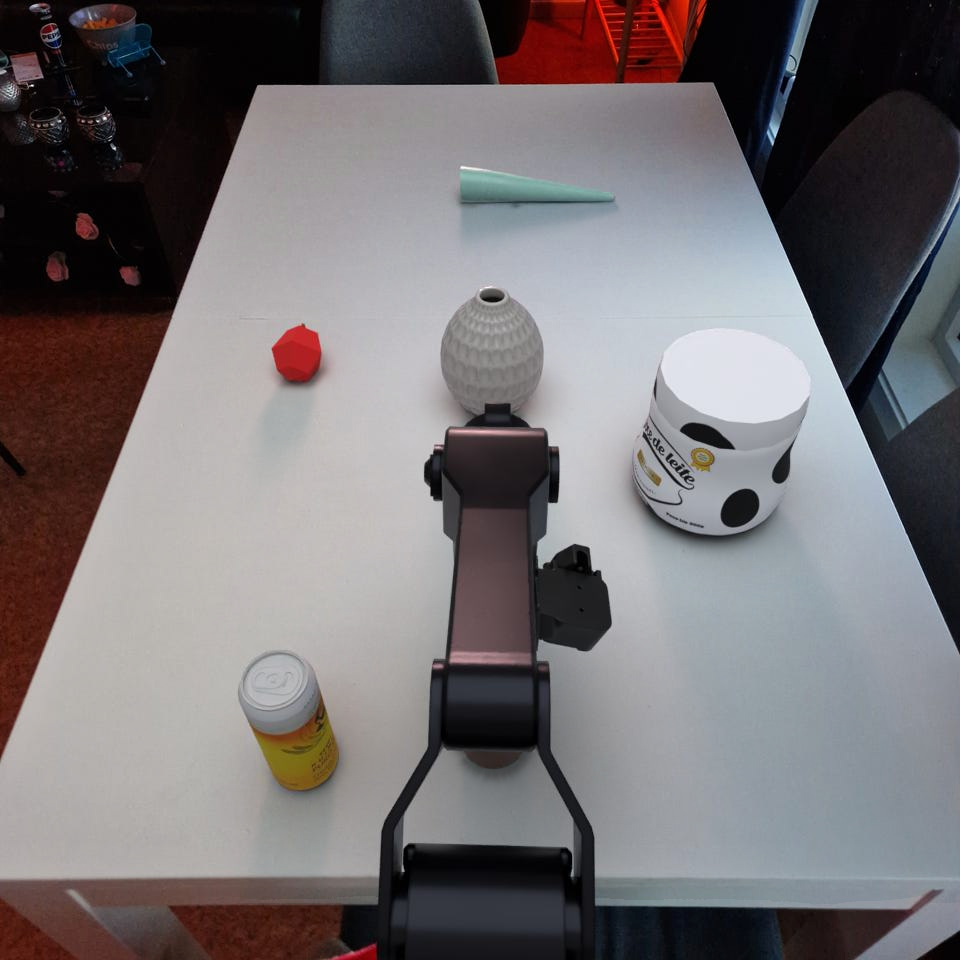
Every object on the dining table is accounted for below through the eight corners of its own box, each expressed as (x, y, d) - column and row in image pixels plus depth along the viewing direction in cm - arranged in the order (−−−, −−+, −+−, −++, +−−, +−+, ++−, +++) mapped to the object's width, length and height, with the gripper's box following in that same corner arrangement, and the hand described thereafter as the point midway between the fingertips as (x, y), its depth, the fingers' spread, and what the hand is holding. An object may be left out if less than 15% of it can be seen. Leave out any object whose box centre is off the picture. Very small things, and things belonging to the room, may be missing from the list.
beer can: (334, 794, 73) (307, 715, 62) (266, 793, 73) (226, 714, 62) (343, 729, 77) (319, 644, 66) (278, 729, 77) (243, 644, 66)
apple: (305, 365, 105) (318, 311, 108) (258, 365, 107) (272, 313, 110) (327, 391, 111) (339, 340, 114) (283, 391, 113) (295, 341, 116)
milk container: (601, 506, 95) (619, 388, 82) (666, 420, 105) (692, 303, 92) (742, 573, 89) (787, 457, 75) (798, 476, 98) (846, 358, 85)
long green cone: (619, 178, 137) (459, 175, 138) (615, 209, 141) (460, 205, 142) (617, 163, 141) (461, 160, 142) (614, 193, 145) (462, 190, 146)
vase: (559, 415, 106) (568, 307, 94) (472, 449, 102) (470, 341, 90) (509, 360, 114) (511, 253, 101) (426, 390, 109) (418, 283, 97)
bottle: (525, 769, 74) (531, 698, 65) (459, 767, 74) (455, 697, 65) (525, 708, 78) (530, 634, 69) (462, 707, 78) (459, 632, 69)
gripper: (626, 689, 51) (600, 791, 62) (597, 471, 64) (580, 589, 75) (446, 689, 51) (453, 791, 62) (454, 472, 64) (459, 589, 75)
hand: (493, 681), depth 69 cm, fingers closed on cap, 4 cm apart
